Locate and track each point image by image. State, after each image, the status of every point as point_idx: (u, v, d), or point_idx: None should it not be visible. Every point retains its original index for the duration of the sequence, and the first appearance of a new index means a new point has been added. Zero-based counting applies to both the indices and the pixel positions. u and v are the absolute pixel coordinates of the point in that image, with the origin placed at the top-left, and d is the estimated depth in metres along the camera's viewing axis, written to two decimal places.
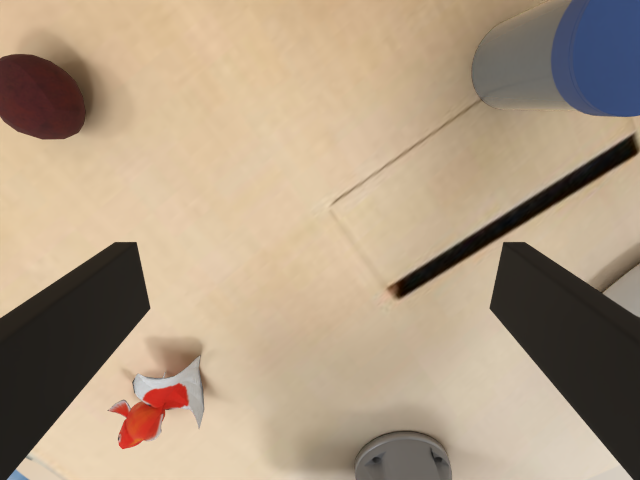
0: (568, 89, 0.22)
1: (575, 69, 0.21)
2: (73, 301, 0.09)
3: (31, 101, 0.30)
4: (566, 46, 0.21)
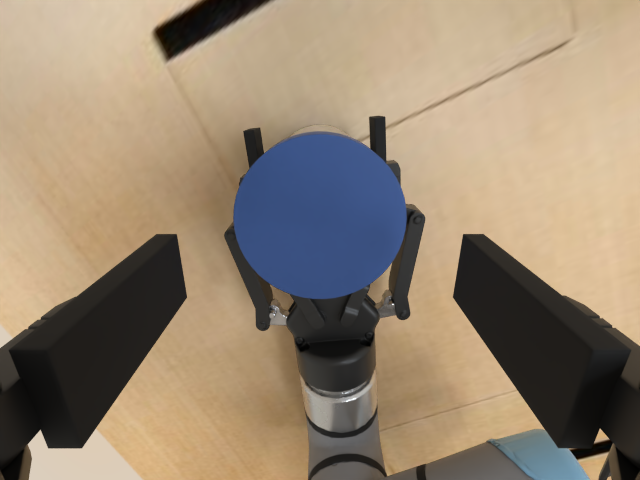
0: None
1: (403, 206, 0.18)
2: (131, 286, 0.10)
3: None
4: None
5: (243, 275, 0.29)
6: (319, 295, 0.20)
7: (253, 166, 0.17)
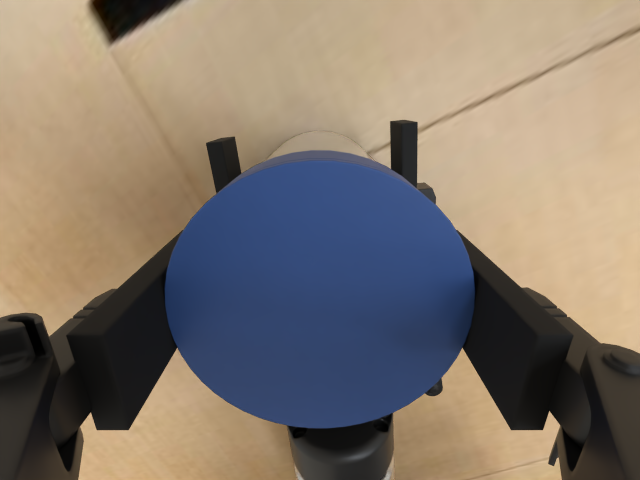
0: None
1: (470, 286, 0.10)
2: None
3: None
4: None
5: None
6: (318, 423, 0.12)
7: (195, 219, 0.09)
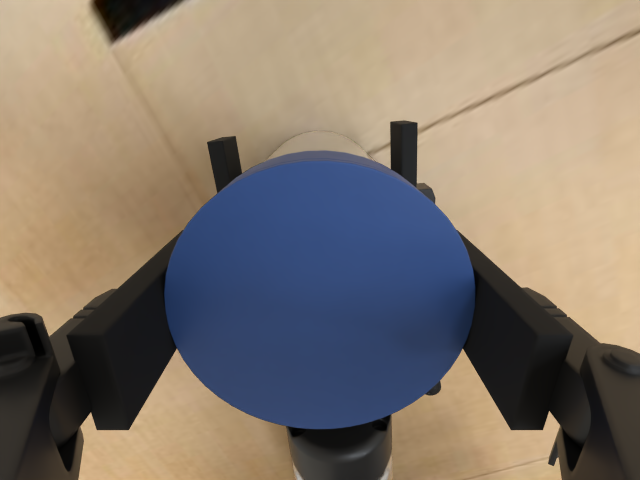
0: None
1: (253, 178, 0.09)
2: None
3: None
4: (307, 157, 0.09)
5: None
6: (467, 297, 0.10)
7: (247, 412, 0.11)
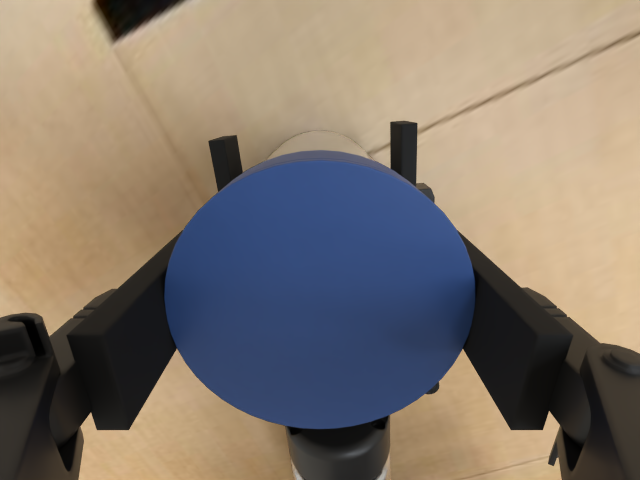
0: None
1: (202, 378, 0.11)
2: None
3: None
4: None
5: None
6: (266, 179, 0.09)
7: (450, 365, 0.11)
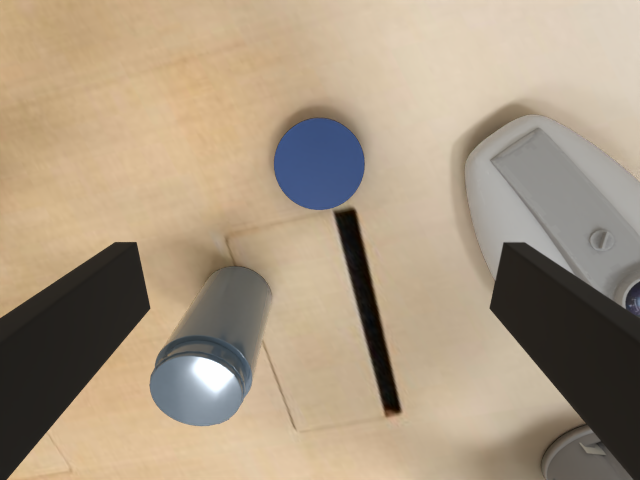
0: None
1: (348, 130, 0.33)
2: (73, 301, 0.09)
3: None
4: None
5: None
6: (344, 199, 0.36)
7: (274, 162, 0.34)
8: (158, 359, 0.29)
